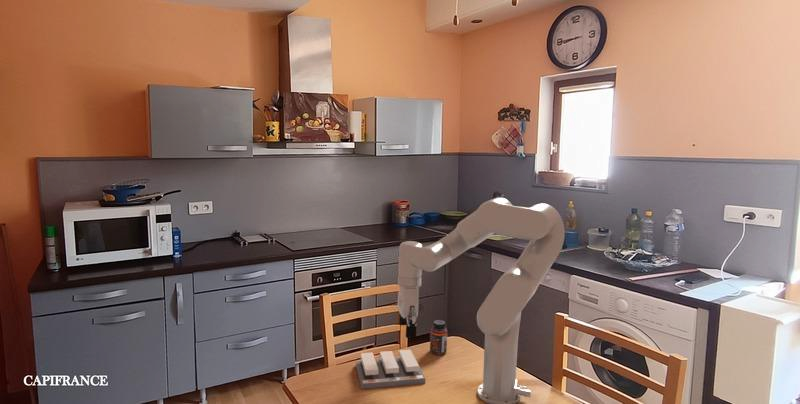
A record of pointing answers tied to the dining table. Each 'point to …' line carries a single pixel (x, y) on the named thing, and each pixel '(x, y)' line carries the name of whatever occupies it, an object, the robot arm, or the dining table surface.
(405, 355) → the switch
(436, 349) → the supplement bottle
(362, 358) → the switch
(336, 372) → the dining table surface
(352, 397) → the dining table surface
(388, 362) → the middle switch
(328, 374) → the dining table surface
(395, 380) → the switch board
